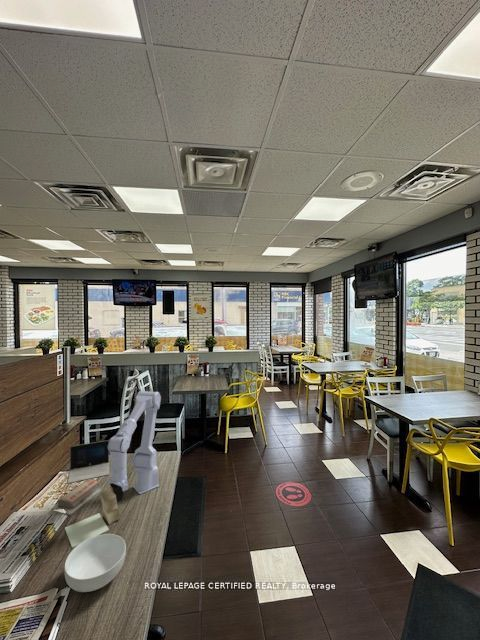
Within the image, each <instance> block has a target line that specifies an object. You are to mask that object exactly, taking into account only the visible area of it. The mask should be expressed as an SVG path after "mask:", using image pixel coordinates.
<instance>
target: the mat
mask: <svg viewBox="0 0 480 640" xmlns="http://www.w3.org/2000/svg"><path fill="white" fill-rule="evenodd" d="M64 531H65V532H66V535H67V539H68V540H69V544H70V546H71V548H72V549H74V548H75V547H76V546H78V545H79V544H80V543H82V542H83V541H85V540H87V539H89V538H91V537H94V536H97V535H102V534H106V533H107V532H109V531H110V529H109V527H108V525H107V524H106V522H105V520H104V519H103V517H102V515H101V513H99V512H97V513H95V514H94V515H91V516H89V517H87V518H84V519H82V520H80V521H76V522H75V523H72V524H70V525H68V526H66V527H64Z"/></svg>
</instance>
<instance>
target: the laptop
mask: <svg viewBox="0 0 480 640" xmlns="http://www.w3.org/2000/svg"><path fill="white" fill-rule="evenodd" d="M109 440H110V439H108V440H102V441H101V440H100V441H96V442H95V441H94V442H89V443H81V444H78V445H77V444H76V445H71V446H70V451H69V453H70V455H69V456H70V460H69V462H70V463H69V470H70V471H69V474H68V480H67V484H71V483H76V482H80V481H86V480H87V479H95V478H99V477H104V476H105V477H106V476H108V475H109V476H110V466H109V465H110V463H109V462H110V461H109V460H110V459H109V458H110V452H109V450H108V443H109Z"/></svg>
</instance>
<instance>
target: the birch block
mask: <svg viewBox="0 0 480 640" xmlns="http://www.w3.org/2000/svg"><path fill="white" fill-rule="evenodd" d="M99 498H100V501H101V507H102V512H103V517H104V519H105V520H106V522H107V523H108V525H111V524H113V523H115V522H116V521H118V520H120V519H121V517H120V511H119V507H118V502H117V500H116V495H115V493H114V492H113V489H112V487H109V488H107V489H106V490H104V491H102V492H99Z"/></svg>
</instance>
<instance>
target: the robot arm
mask: <svg viewBox="0 0 480 640" xmlns="http://www.w3.org/2000/svg"><path fill="white" fill-rule="evenodd" d="M161 400H162V396H161V394H160V392H159V391H146V390H140V391H138V392H137V394H136V396H135V405H134V406H133V409H132V410H131V412H130V415H129V417H128V418H126V419H124V421H123V422H122V424H121V426H120V427H119V429H118V430H117V432H116V434H115V435H113V436H112V437H111V438H110V439H108V440H109V443H108V450H109V456H110V470H109V476H110V478H109V479H108V480H107V483H108V484H109V485H110V488H111V489H112V491H113V492H114V493H115V495H116V500H117V503H119V502H121V501H123V498H124V497H123V496H124V493H125V492H126V491H128V490H129V484H128V475H127V468H128V466H127V463H128V462H127V455H128V454H127V451H128V450H129V448H130V444H131V441H132V436H133V434H134V432H135V430H136V428H137V426H138V425H137V422H138V420H139V418H140V417H141V415H142V414H143V413H144V411H145V417H144V420H143V421H144V423H143V427H142V435H141V440H140V441H141V442H140V446H139V447H138V448H136V449H135V450H134V454H133V457H132V461H131V464H132V467H133V468H134V470H135V471H136V478H135V479H136V480H135V481H136V483H135V484H133V485H132V488H134V490H135V491H136V492H137V493H138V494H139V495H141V494H144V493H146V492H149V491H152V490H154V489H157V488H159V486H160V484H159V468H158V466H157V462H158V461H157V460H158V458H157V450H156V449H155V448H154V447H153V442H154V441H153V439H154V434H155V433H154V432H155V427H156V420H157V413H158V410H160V406H161Z"/></svg>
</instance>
